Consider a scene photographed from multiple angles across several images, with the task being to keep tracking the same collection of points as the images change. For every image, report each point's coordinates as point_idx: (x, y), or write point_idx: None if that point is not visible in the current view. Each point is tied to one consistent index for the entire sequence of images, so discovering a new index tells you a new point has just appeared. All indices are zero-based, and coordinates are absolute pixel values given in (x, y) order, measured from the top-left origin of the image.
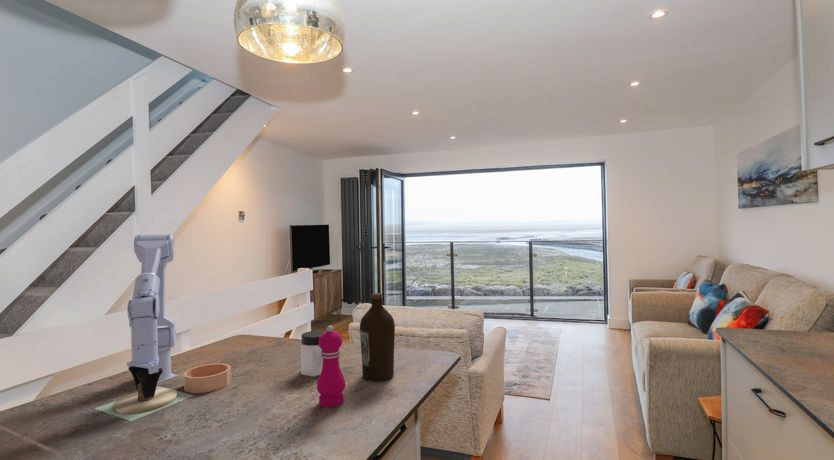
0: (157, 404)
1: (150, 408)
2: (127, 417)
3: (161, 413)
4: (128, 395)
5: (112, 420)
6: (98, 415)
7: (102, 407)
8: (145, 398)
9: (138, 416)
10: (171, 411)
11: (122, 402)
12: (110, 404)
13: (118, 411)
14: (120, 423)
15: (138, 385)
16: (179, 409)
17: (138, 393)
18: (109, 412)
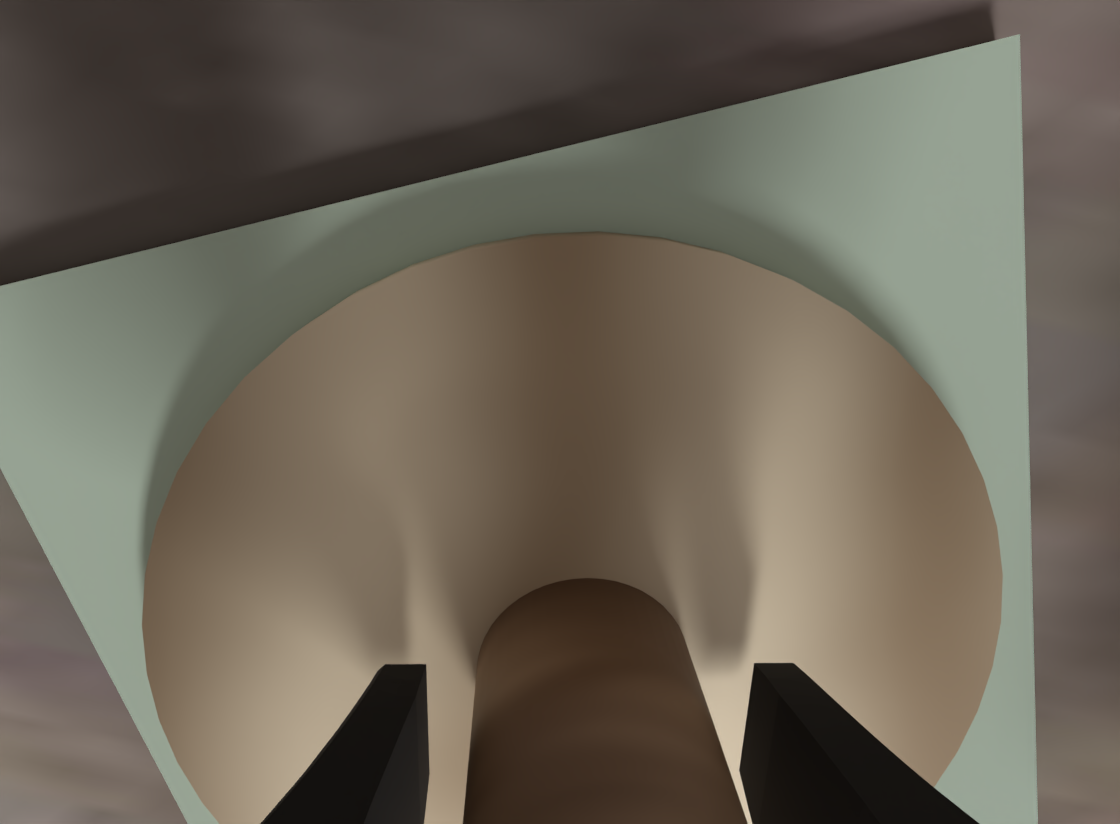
0: (190, 713)
1: (151, 614)
2: (120, 308)
3: (46, 658)
4: (977, 544)
5: (289, 135)
6: (710, 32)
7: (934, 147)
8: (376, 673)
9: (47, 429)
10: (27, 749)
11: (734, 403)
12: (953, 275)
13: (419, 263)
14: (58, 189)
15: (616, 789)
16: (27, 820)
17: (581, 661)
18: (592, 168)
